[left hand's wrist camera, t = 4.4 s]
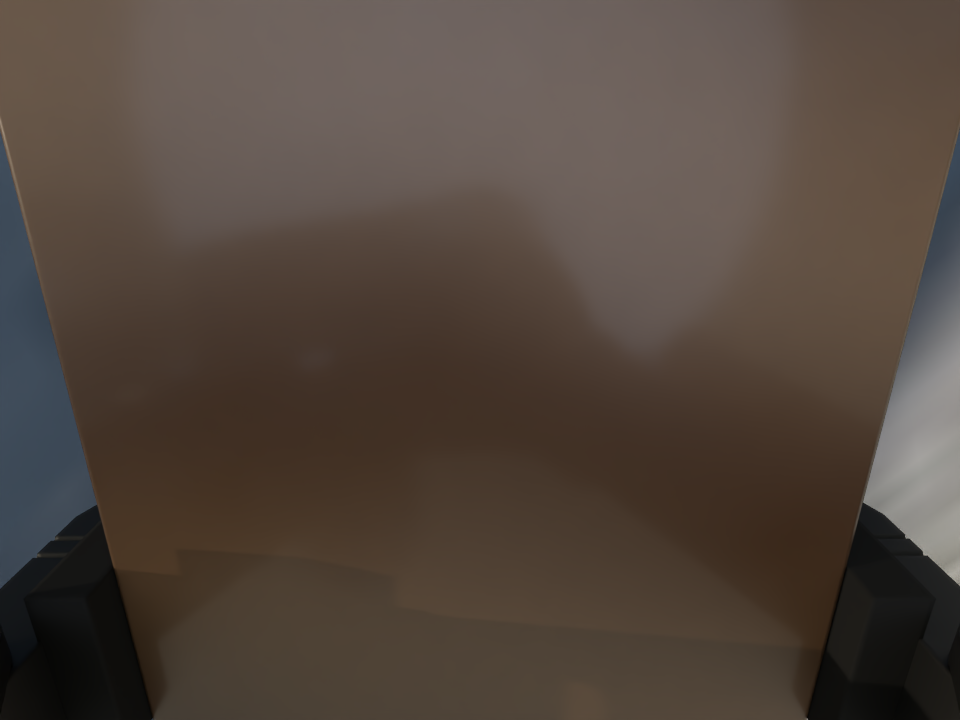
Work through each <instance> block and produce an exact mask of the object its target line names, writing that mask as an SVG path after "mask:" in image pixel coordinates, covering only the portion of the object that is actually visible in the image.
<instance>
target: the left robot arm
mask: <svg viewBox="0 0 960 720" xmlns="http://www.w3.org/2000/svg"><path fill="white" fill-rule="evenodd" d="M807 718H808V720H960V586H959V585H958V584H957V583H956V582H955V581H954V580H953V579H952V578H950V577H949V576H948V575H947V574H946V573H945V572H944V571H943V570H942V569H941V568H940V567H939V566H938V565H937V564H936V563H935V562H934V561H932V560H931V559H930V558H929V557H928V556H924V555H923V551H922V550H921V549H920V548H919V547H918V546H917V545H915V544H914V543H913V542H912V541H911V540H910V539H906V538H905V534H904V533H903V532H902V531H901V530H900V529H899V528H897V527H896V526H895V525H894V524H893V523H892V522H891V521H890V520H889V519H888V518H887V517H886V516H885V515H884V514H882V513H880V512H878V511H877V510H875V509H873V508H871V507H870V506H868V505H866V504H864V503H863V504H862V507H861V511H860V515H859V519H858V523H857V527H856V531H855V534H854V538H853V542H852V546H851V550H850V554H849V558H848V561H847V565H846V569H845V573H844V577H843V581H842V585H841V588H840V592H839V596H838V600H837V604H836V608H835V612H834V615H833V619H832V623H831V627H830V631H829V635H828V639H827V642H826V646H825V650H824V654H823V658H822V662H821V666H820V669H819V673H818V677H817V681H816V685H815V689H814V693H813V696H812V700H811V704H810V708H809V712H808V716H807ZM0 720H152V714H151V710H150V706H149V702H148V698H147V695H146V691H145V687H144V683H143V679H142V675H141V671H140V668H139V664H138V660H137V656H136V652H135V648H134V644H133V641H132V637H131V633H130V629H129V625H128V621H127V617H126V614H125V610H124V606H123V602H122V598H121V594H120V590H119V587H118V583H117V579H116V575H115V571H114V567H113V563H112V560H111V556H110V552H109V548H108V544H107V540H106V536H105V533H104V529H103V525H102V521H101V517H100V513H99V509H98V506H97V505H96V506H94V507H92V508H91V509H89V510H87V511H85V512H84V513H82V514H80V515H78V516H77V517H75V518H74V519H73V520H72V521H71V522H70V523H69V524H68V525H67V526H66V527H65V528H64V529H63V530H62V531H61V532H60V533H59V534H58V535H57V536H55V540H54V541H50V542H49V543H48V544H47V545H46V546H45V547H44V548H43V549H42V550H41V551H40V552H39V553H38V554H37V558H32V559H31V560H30V561H29V562H28V563H27V564H26V565H25V566H24V567H23V568H22V569H21V570H20V571H19V572H18V573H17V574H15V575H14V576H13V577H12V578H11V579H10V580H9V581H8V582H7V583H6V584H5V585H4V586H3V587H2V588H1V589H0Z"/></svg>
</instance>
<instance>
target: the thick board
mask: <svg viewBox="0 0 960 720" xmlns="http://www.w3.org/2000/svg"><path fill="white" fill-rule="evenodd" d="M959 129H960V0H0V131H1V135H2V139H3V143H4V147H5V151H6V155H7V158H8V162H9V166H10V170H11V174H12V178H13V182H14V185H15V189H16V193H17V197H18V201H19V205H20V209H21V212H22V216H23V220H24V224H25V228H26V232H27V236H28V239H29V243H30V247H31V251H32V255H33V259H34V263H35V266H36V270H37V274H38V278H39V282H40V286H41V290H42V293H43V297H44V301H45V305H46V309H47V313H48V317H49V320H50V324H51V328H52V332H53V336H54V340H55V344H56V347H57V351H58V355H59V359H60V363H61V367H62V371H63V374H64V378H65V382H66V386H67V390H68V394H69V398H70V401H71V405H72V409H73V413H74V417H75V421H76V425H77V428H78V432H79V436H80V440H81V444H82V448H83V452H84V455H85V459H86V463H87V467H88V471H89V475H90V479H91V482H92V486H93V490H94V494H95V498H96V502H97V506H98V509H99V513H100V517H101V521H102V525H103V529H104V533H105V536H106V540H107V544H108V548H109V552H110V556H111V560H112V563H113V567H114V571H115V575H116V579H117V583H118V587H119V590H120V594H121V598H122V602H123V606H124V610H125V614H126V617H127V621H128V625H129V629H130V633H131V637H132V641H133V644H134V648H135V652H136V656H137V660H138V664H139V668H140V671H141V675H142V679H143V683H144V687H145V691H146V695H147V698H148V702H149V706H150V710H151V714H152V718H153V720H807V716H808V712H809V708H810V704H811V700H812V696H813V693H814V689H815V685H816V681H817V677H818V673H819V669H820V666H821V662H822V658H823V654H824V650H825V646H826V642H827V639H828V635H829V631H830V627H831V623H832V619H833V615H834V612H835V608H836V604H837V600H838V596H839V592H840V588H841V585H842V581H843V577H844V573H845V569H846V565H847V561H848V558H849V554H850V550H851V546H852V542H853V538H854V534H855V531H856V527H857V523H858V519H859V515H860V511H861V507H862V504H863V500H864V496H865V492H866V488H867V484H868V480H869V477H870V473H871V469H872V465H873V461H874V457H875V453H876V450H877V446H878V442H879V438H880V434H881V430H882V426H883V422H884V419H885V415H886V411H887V407H888V403H889V399H890V395H891V392H892V388H893V384H894V380H895V376H896V372H897V368H898V365H899V361H900V357H901V353H902V349H903V345H904V341H905V338H906V334H907V330H908V326H909V322H910V318H911V314H912V311H913V307H914V303H915V299H916V295H917V291H918V287H919V284H920V280H921V276H922V272H923V268H924V264H925V260H926V257H927V253H928V249H929V245H930V241H931V237H932V233H933V230H934V226H935V222H936V218H937V214H938V210H939V206H940V203H941V199H942V195H943V191H944V187H945V183H946V179H947V176H948V172H949V168H950V164H951V160H952V156H953V152H954V149H955V145H956V141H957V137H958V133H959Z"/></svg>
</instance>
